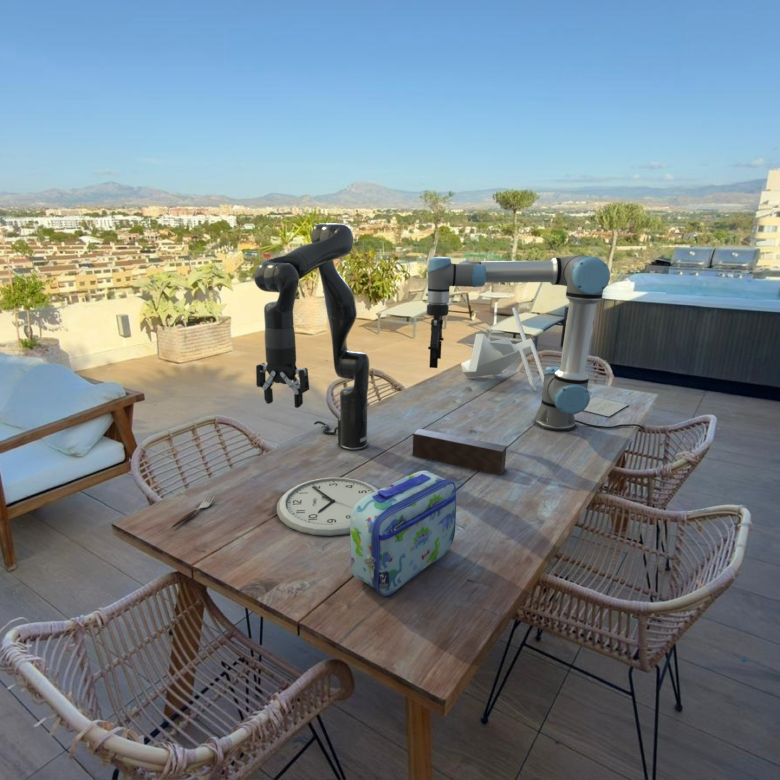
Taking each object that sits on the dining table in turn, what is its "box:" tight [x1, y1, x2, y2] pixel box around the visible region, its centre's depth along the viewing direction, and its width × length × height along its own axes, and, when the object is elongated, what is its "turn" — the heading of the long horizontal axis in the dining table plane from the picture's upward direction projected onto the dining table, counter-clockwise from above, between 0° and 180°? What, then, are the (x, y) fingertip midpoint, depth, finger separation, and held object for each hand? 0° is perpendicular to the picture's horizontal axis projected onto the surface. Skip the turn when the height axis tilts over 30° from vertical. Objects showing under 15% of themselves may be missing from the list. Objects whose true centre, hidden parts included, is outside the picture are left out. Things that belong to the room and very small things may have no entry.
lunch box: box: [349, 470, 457, 597], centre depth 114 cm, size 26×11×21 cm, turn 134°
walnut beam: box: [412, 428, 507, 476], centre depth 169 cm, size 30×5×8 cm, turn 63°
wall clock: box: [276, 476, 380, 537], centre depth 142 cm, size 30×2×30 cm
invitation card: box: [583, 396, 629, 418], centre depth 226 cm, size 21×1×15 cm
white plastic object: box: [460, 307, 545, 391], centre depth 258 cm, size 37×45×31 cm
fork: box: [171, 493, 217, 529], centre depth 137 cm, size 3×16×2 cm, turn 160°
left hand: (283, 404), depth 136 cm, fingers open, 8 cm apart
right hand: (435, 362), depth 187 cm, fingers open, 13 cm apart
